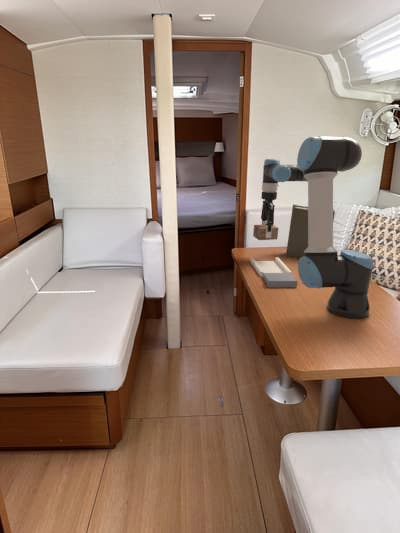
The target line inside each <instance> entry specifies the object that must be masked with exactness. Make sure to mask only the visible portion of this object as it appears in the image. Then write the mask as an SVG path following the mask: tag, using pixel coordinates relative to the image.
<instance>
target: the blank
mask: <svg viewBox="0 0 400 533" xmlns="http://www.w3.org/2000/svg"><path fill="white" fill-rule="evenodd" d="M252 234H253V235H252V236H253V237H254V238H255V239H257V240H258V241H269V240H271V241H272V240H278V236H279V227H277V226H276V225H272V232H271V238H265V236H266V225H262V224H253V232H252Z"/></svg>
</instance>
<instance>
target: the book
mask: <svg viewBox="0 0 400 533" xmlns="http://www.w3.org/2000/svg"><path fill="white" fill-rule="evenodd" d="M335 215H336V210H335V209H334V208H333V222H334V220H335ZM307 248H308V206H305V205H304V206H303V205H298V204H292V209H291V216H290V223H289V231H288V238H287V246H286V256H287V257H296V258H299V259H300V258H301V257H303V256H304V251H305V250H306V249H307Z"/></svg>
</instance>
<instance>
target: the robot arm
mask: <svg viewBox="0 0 400 533" xmlns="http://www.w3.org/2000/svg"><path fill="white" fill-rule="evenodd" d="M297 152H298V153H297V159H296V164H281V161H280V159H277V158H265V159H264V160H263V161H264V163H263V170H262V182H261V190H262V191H261V198H260V199H262V206H261V215H260V219H261V225H266V236H265V238H271V232H272V225H274V224H275V223H274V221H275V206H276V205H275V204H274V202H273V201H275V200H277V198H278V192H277V191H278V187H279V183H285V182H307V207H308V248H307V249H306V250H305V251H304V256H303V257H301V258H299V260H298V262H297V272H298V276H299V279H300V280H301V283H302V284H303V285H304V287H306V288H309V289H321V288H322V289H323V288H334V289H333V291H332V293H331V295H330V297H329V299H328V301H327V306H326V307H327V310H329V311H330V312H331V313H332V314H334V315H337V316H339V317H341V318H342V317H343V318H346V319H354V320H355V319H356V320H358V319H364V318H367V317H368V316H369V314H370V301H369V298H368V294H369V289H370V288H369V287H370V283H371V277H372V272H373V269H374V268H373V267H374V259H373V257H371V256H370V255H369V254H366V253H364V252H361V251H357V250H354V249H353V250H352V249H342V250H341V251H340V252H339V254H340V255H338V250H337V249H336V248H335V247H334V221H333V209H334V179H335V178H336V177H337V176H338V175H339V174H338V173H339V172H341V173H342V172H347V171H350V170H352V169H354V168H356V166H358V165H359V164H360V163H361V162H360V161H361V160H362V157H363V156H362V155H363V153H362V152H363V151H362V148H361V145H360V144H359V142H358V141H357V140H354V139H353V138H350V137H346V136H345V137H344V136H342V137H341V136H321V135H317V136H309V137H307V138H306V139H304V140H303V142H302V143H301V145H300V147H299V150H298V151H297ZM274 226H275V225H274Z"/></svg>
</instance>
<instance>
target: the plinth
mask: <svg viewBox="0 0 400 533" xmlns="http://www.w3.org/2000/svg"><path fill="white" fill-rule="evenodd" d="M262 279H263V280H264V281H265V285H266V286H267V288H297V287H298V279H296V278H295V276H294V275H293V274H291V273H263V276H262Z"/></svg>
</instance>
